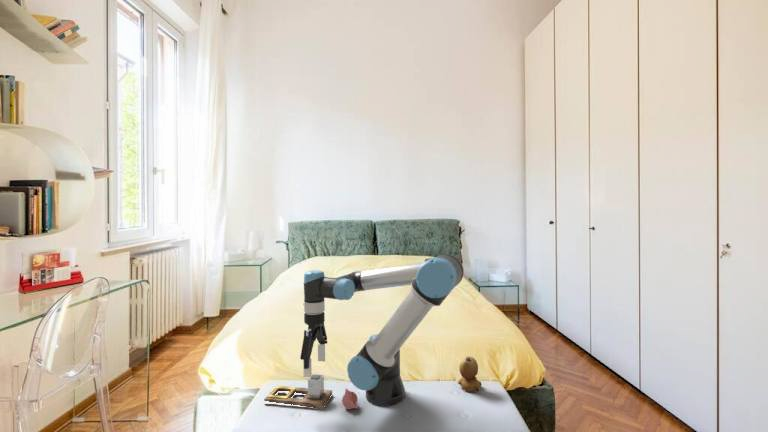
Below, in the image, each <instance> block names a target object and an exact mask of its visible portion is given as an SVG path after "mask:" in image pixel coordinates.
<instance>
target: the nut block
mask: <svg viewBox="0 0 768 432" xmlns="http://www.w3.org/2000/svg"><path fill="white" fill-rule="evenodd" d="M307 388H308V399H310V400H321V399H322V398H323V396H324V390H325V379H324V374H315V373H313V374H312V373H311V377H308V379H307Z"/></svg>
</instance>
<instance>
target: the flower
mask: <svg viewBox="0 0 768 432" xmlns="http://www.w3.org/2000/svg"><path fill="white" fill-rule="evenodd" d="M342 396H343V397H342V399H341V401H342V402H341V403H342V405H343V407H344V408H345V409H348V410H352V409H359V406H358V395H357V393H356V392H355V391H349V389H347V388H345V391H344V395H342Z"/></svg>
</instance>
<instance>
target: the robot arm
mask: <svg viewBox="0 0 768 432" xmlns="http://www.w3.org/2000/svg"><path fill="white" fill-rule="evenodd" d="M464 271H465V270H464V265H463V264H462V261H461V260H460V259H459V258H457V256H455V255H453V254H449V253H447V254H446V253H444V254H439V255H436V256H434V257H430V258H425V259H424V260H423V262H415V263H410V264H404V265H403V264H402V265H396V266H388V267H382V268H376V269H370V270H363V271H361V270H357V271H352V272H351V273H348V274H344V275H341V276H337V277H327V276H325V272H324V271H323V270H313V269H312V270H308V271H306V272H305V273H304V276H303V296H304V298H303V301H304V302H303V307H304V308H303V309H304V310H303V311H304V315H303V316H304V317H303V321H304V324H305V325H307V326H308V327H307V329H304V330H303V339H302V346H301V352H300V360H303V361H302V362H303V377H304V378H310V377H311V376H312V358H311V355H312V352H313V348H314V345H315V341H316V340H317V342H318V344H317V361H318V362H326V345H327V344H328V336H327V331H326V326H325V315H326V314H325V310H326V309H325V306H326V305H325V299H331V300H332V299H333V300H338V301H350V299H352V297H353V296H354V294H355V293H357V292H363V291H364V292H365V291H371V290H378V289H379V290H380V289H388V288H395V287H405V286H411V290H410V292H409V293H408V294H407V295H406V297H405V298H404V299H403V301H402V302H401V304H399V306H398V307H397V308H396V310H395V311H394V312H393V313H392V315H391V317H390V318H389V319H388V320H387V321H386V323H385V325H383V327H382V328H381V330H380V331H379V333H376V334H372V335H370V336H369V338H368V340H367V341H366V342H365V343H364V345H363V347H361V349H360V351H359V352H358V353H357V354H356V355H355V356H353V357H351V359H350V360H349V362H348V364H347V369H346V370H347V371H346V372H347V374H348V375H347V376H348V379H349V380H350V382H351V383H352V385H353V386H354V387H355V388H357V389H358V390H362V391H364V392H365V398H366V400H367V401H368V402H369V403H371V404H373V405H376V406H381V407H388V406H389V407H390V406H394V405H397V404H400V403H402V401H404V400H405V397H406V388H405V386H404V385H405V384H404V382H403V380H402V377H401V347H402V346H404V344H405V342H406V341H407V340H408V339H409V337H410V336H411V335H412V333H413V332H414V331H415V330H416V329H417V327H418V326H419V324H420V323H421V322H422V321H423V320H424V318H425V317H426V316H427V315H428V313H429V312H430V311H431V310H432V308H433V307H439V306H441V305H442V303H443V302H444V300H446V299H447V297H448V296H449V295H450V293H452V291H453V290H454V289H455V287H457V286H458V285H459V284H460V283H461V282H462V280H463V278H464V273H465V272H464Z"/></svg>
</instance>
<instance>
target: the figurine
mask: <svg viewBox="0 0 768 432" xmlns="http://www.w3.org/2000/svg"><path fill="white" fill-rule="evenodd" d="M478 372H479V365H478V362H477V360H476V359H475V358H474V357H472V356H466V357H465V358H463V359H462V360H461V362H460V364H459V373H460V375H461V378H459V380H457V384H458V385H460V386H461V389H462V390H463V391H464V390H465V391H464V392H466V393H471V392H473V393H476V392H475V391H477V392H479V390H480V389H481V388H482V382H481V381H480V380H478V378H477V375H478ZM479 388H480V389H479Z"/></svg>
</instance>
